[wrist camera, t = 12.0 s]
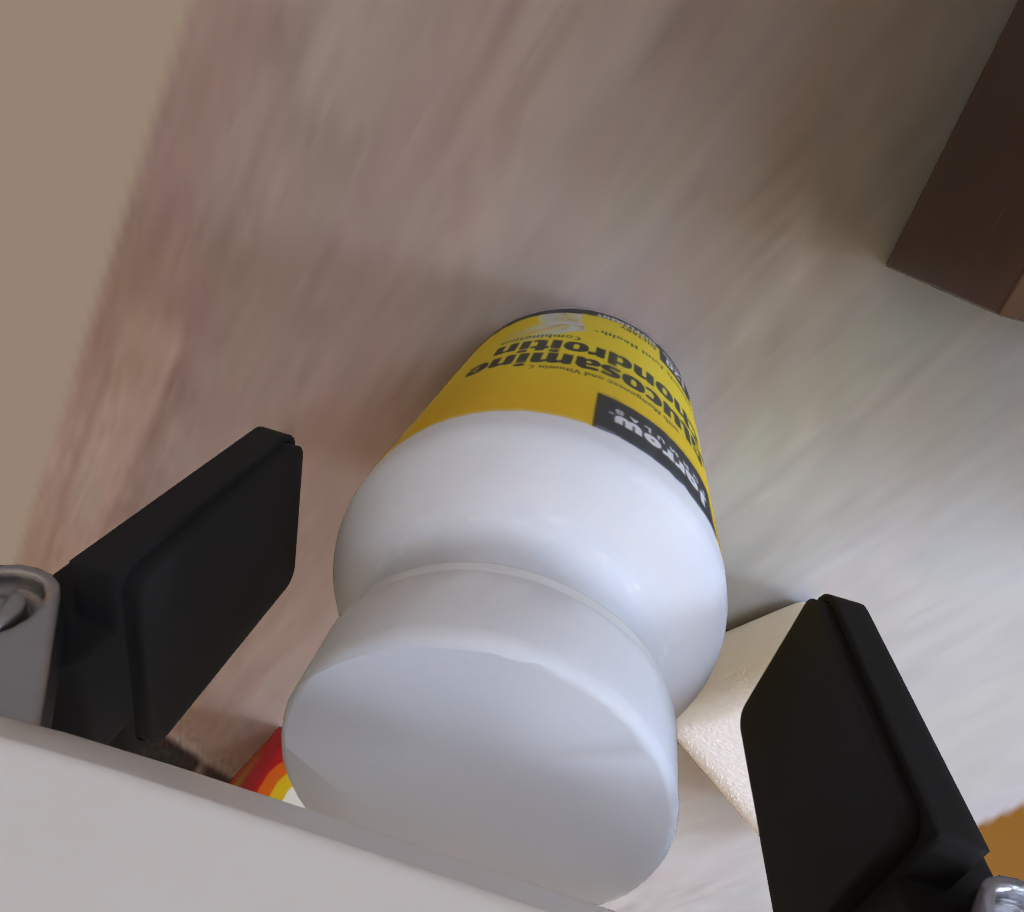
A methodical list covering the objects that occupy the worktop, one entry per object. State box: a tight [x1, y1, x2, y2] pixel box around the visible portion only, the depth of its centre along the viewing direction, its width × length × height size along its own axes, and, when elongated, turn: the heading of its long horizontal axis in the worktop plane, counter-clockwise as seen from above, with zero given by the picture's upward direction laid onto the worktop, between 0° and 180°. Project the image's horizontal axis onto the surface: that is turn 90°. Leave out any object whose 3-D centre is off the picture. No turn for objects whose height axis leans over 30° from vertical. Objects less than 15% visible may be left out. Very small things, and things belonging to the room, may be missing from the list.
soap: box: [676, 602, 806, 836], centre depth 19 cm, size 9×6×3 cm, turn 39°
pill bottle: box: [281, 307, 728, 905], centre depth 12 cm, size 6×6×12 cm
